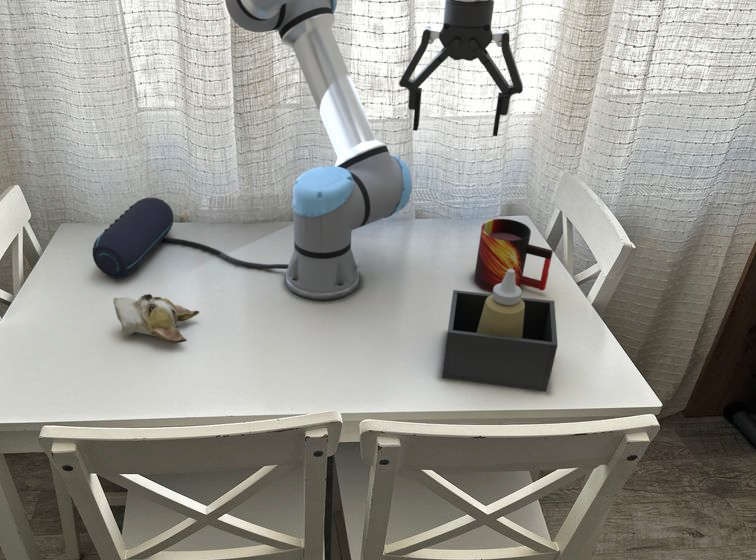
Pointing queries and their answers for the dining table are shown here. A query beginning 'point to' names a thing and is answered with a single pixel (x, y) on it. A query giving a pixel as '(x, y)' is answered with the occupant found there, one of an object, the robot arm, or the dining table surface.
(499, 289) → the squeeze bottle
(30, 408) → the dining table surface
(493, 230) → the mug
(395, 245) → the dining table surface
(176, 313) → the ceramic sculpture
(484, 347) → the bin
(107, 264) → the portable speaker
